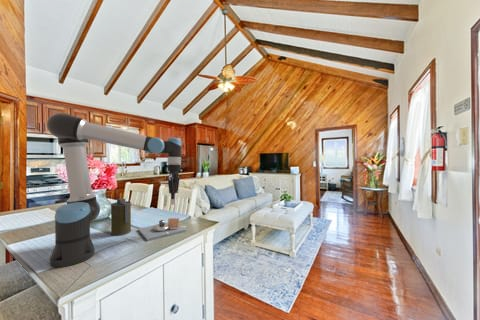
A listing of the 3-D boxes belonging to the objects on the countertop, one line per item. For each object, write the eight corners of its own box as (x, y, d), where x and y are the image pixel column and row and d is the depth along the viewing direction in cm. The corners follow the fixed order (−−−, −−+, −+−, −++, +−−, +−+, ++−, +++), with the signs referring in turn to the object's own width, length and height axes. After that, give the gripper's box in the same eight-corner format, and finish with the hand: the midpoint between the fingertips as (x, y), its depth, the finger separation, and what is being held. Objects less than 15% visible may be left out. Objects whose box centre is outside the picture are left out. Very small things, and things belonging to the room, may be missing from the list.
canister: (106, 233, 115) (106, 199, 115) (124, 228, 124) (124, 196, 124) (118, 237, 110) (117, 201, 110) (135, 231, 119) (135, 198, 119)
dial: (150, 231, 114) (150, 221, 114) (156, 225, 124) (156, 216, 124) (176, 231, 115) (176, 221, 115) (180, 225, 125) (180, 216, 125)
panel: (147, 241, 105) (147, 238, 105) (138, 230, 120) (138, 228, 120) (189, 230, 120) (189, 228, 120) (176, 222, 135) (176, 220, 135)
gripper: (175, 164, 109) (175, 207, 109) (184, 164, 122) (183, 202, 122) (162, 164, 110) (162, 206, 110) (172, 163, 123) (172, 201, 123)
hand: (173, 204), depth 116 cm, fingers closed
